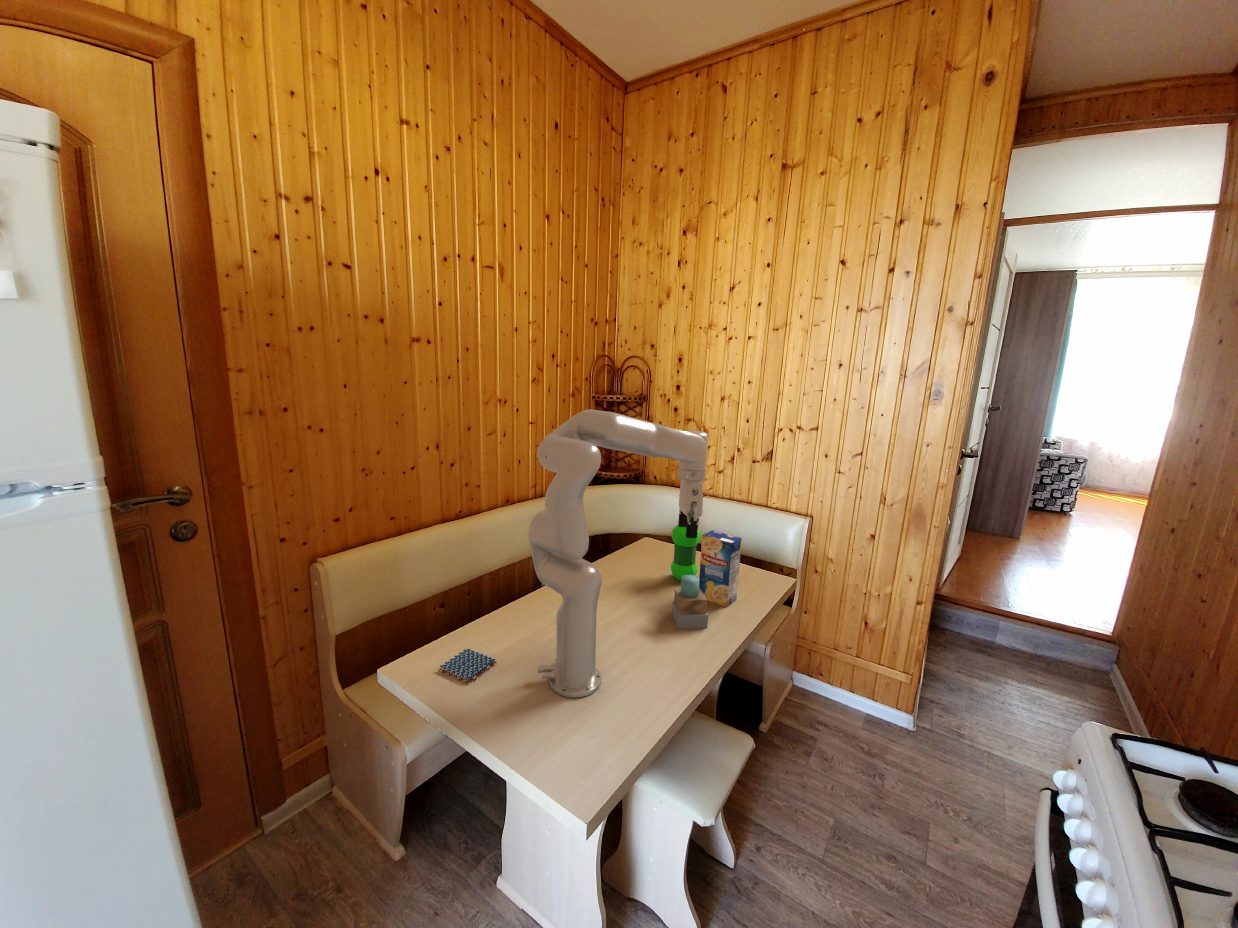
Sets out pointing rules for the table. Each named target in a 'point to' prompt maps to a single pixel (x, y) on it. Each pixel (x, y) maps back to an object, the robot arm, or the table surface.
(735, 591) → the beverage box
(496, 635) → the table surface
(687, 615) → the tower base
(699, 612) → the tower top
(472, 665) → the woven mat
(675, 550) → the green soda bottle
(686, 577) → the blue egg-shaped pebble
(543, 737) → the table surface
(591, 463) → the robot arm
